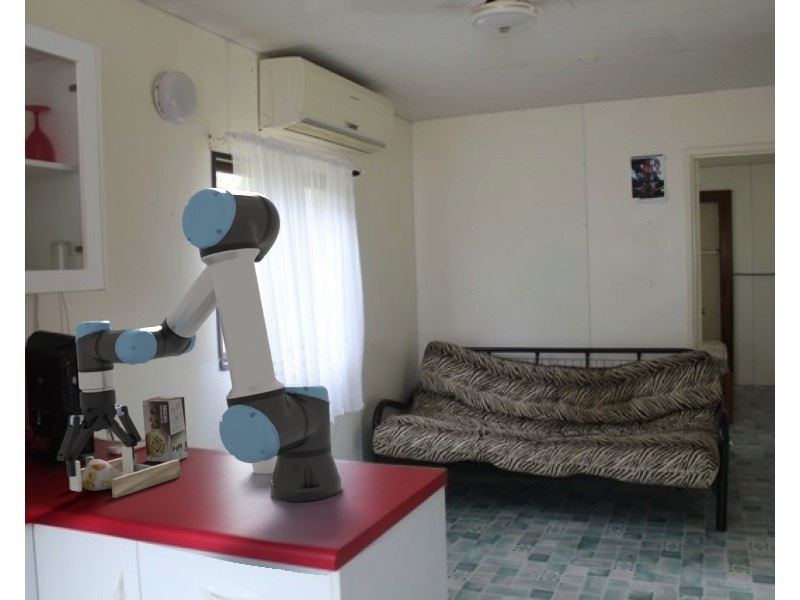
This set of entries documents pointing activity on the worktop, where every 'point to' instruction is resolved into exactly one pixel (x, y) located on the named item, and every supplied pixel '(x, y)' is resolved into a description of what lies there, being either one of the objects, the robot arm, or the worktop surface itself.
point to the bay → (140, 476)
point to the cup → (265, 466)
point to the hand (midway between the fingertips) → (103, 482)
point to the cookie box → (165, 428)
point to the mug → (99, 475)
